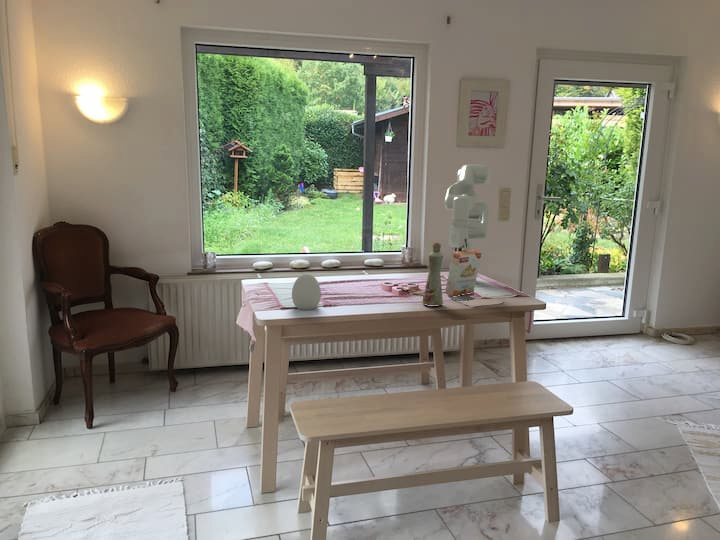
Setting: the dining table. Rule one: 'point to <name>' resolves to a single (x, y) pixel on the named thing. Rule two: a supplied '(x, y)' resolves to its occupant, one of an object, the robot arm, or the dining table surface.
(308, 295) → the decorative egg
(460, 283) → the cracker box
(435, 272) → the bottle
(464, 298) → the mat
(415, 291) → the turner
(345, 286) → the dining table surface
